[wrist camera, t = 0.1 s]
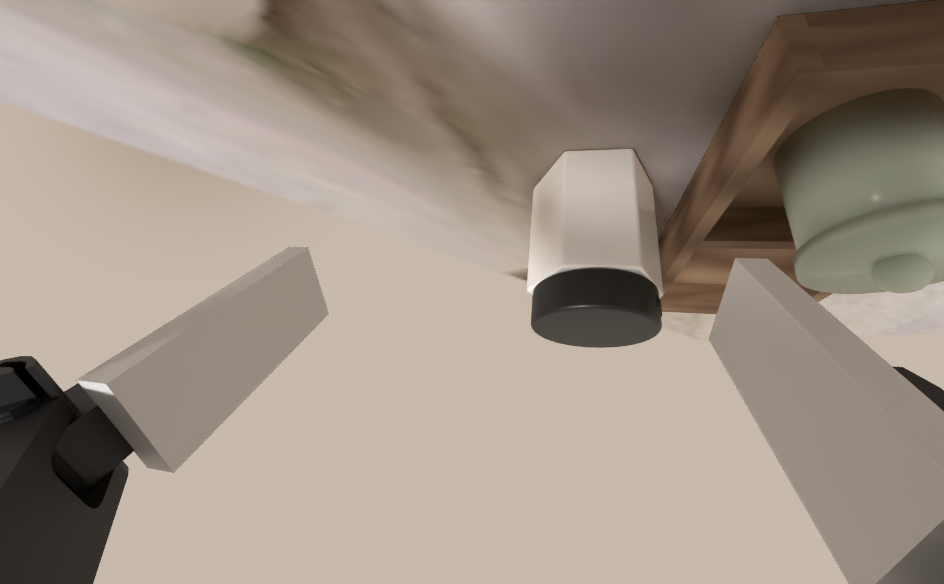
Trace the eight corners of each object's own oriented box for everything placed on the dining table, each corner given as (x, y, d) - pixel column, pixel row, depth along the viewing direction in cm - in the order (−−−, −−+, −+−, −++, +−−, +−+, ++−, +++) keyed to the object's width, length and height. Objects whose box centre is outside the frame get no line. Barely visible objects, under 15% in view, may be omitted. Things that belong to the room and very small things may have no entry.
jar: (598, 229, 34) (600, 355, 29) (519, 202, 31) (508, 333, 27) (679, 167, 26) (701, 326, 21) (582, 125, 24) (582, 292, 19)
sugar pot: (817, 88, 19) (878, 249, 15) (1006, 76, 17) (1130, 252, 13) (744, 188, 25) (773, 315, 22) (874, 185, 24) (930, 322, 20)
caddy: (778, 16, 17) (798, 73, 15) (1196, -27, 14) (1276, 38, 12) (639, 277, 41) (641, 310, 39) (781, 281, 38) (790, 317, 36)
